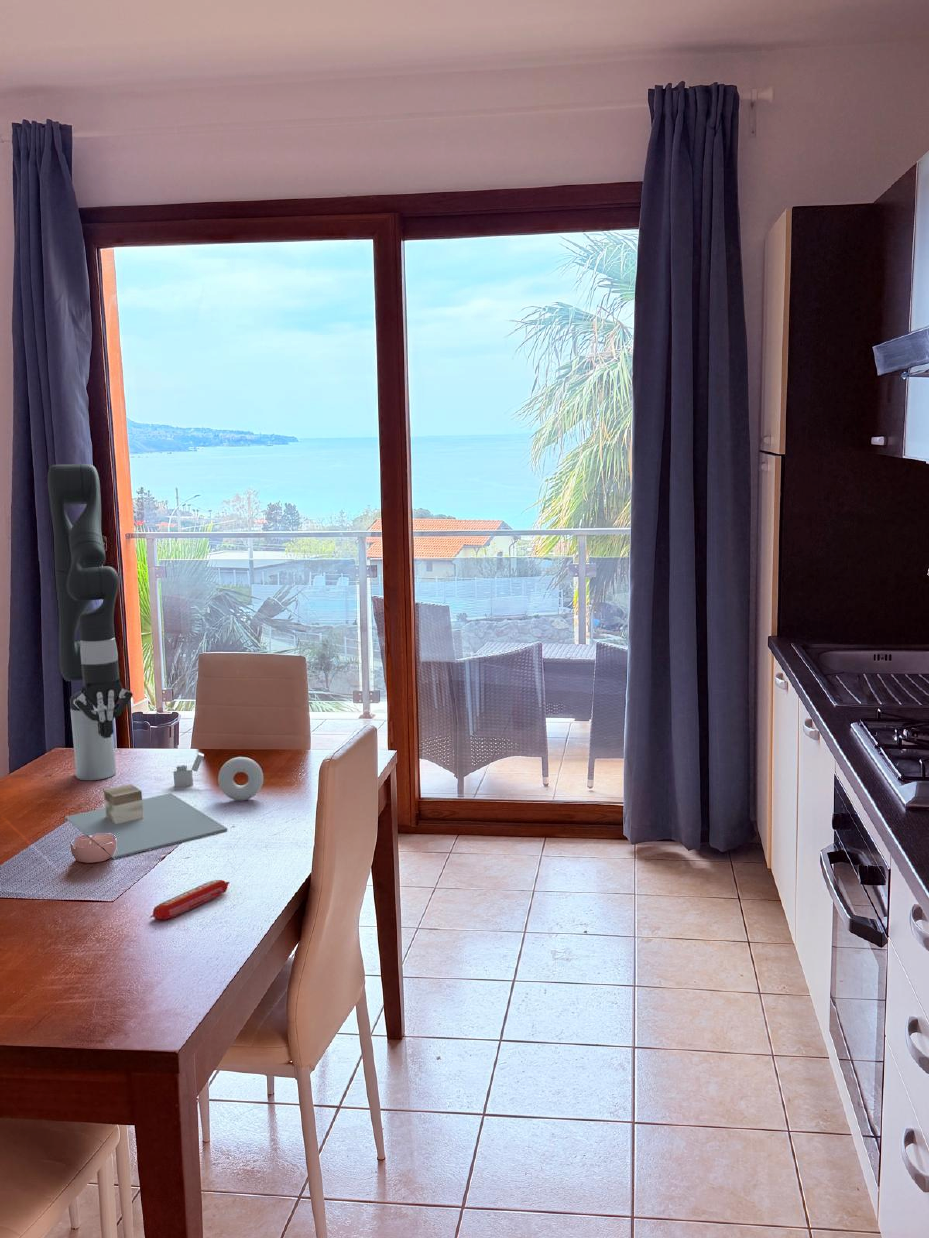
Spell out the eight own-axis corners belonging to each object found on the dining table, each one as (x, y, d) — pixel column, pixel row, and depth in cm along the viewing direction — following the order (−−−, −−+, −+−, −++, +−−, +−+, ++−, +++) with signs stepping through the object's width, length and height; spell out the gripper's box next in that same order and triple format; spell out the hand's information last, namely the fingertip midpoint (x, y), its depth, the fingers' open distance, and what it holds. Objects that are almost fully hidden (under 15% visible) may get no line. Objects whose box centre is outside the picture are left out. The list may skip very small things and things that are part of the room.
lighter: (174, 789, 257) (172, 755, 255) (175, 786, 258) (172, 753, 257) (205, 786, 258) (203, 753, 257) (206, 784, 260) (203, 751, 258)
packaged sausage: (218, 888, 200) (217, 873, 199) (232, 893, 198) (231, 877, 197) (147, 921, 187) (146, 905, 186) (161, 927, 185) (160, 910, 184)
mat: (64, 818, 238) (64, 816, 238) (170, 795, 252) (170, 793, 252) (113, 859, 214) (112, 856, 214) (227, 830, 229) (227, 828, 228)
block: (106, 816, 237) (103, 789, 236) (133, 810, 241) (131, 784, 240) (115, 824, 233) (113, 796, 232) (143, 817, 236) (141, 790, 235)
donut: (265, 796, 250) (262, 753, 248) (264, 801, 247) (261, 757, 245) (220, 799, 249) (217, 756, 247) (218, 804, 245) (215, 760, 244)
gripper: (123, 652, 245) (129, 728, 247) (63, 661, 237) (69, 739, 240) (135, 657, 239) (141, 735, 241) (74, 666, 231) (81, 746, 234)
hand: (106, 737), depth 240 cm, fingers closed
